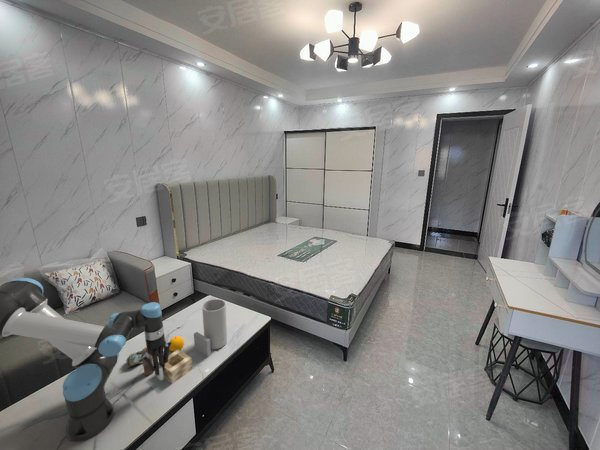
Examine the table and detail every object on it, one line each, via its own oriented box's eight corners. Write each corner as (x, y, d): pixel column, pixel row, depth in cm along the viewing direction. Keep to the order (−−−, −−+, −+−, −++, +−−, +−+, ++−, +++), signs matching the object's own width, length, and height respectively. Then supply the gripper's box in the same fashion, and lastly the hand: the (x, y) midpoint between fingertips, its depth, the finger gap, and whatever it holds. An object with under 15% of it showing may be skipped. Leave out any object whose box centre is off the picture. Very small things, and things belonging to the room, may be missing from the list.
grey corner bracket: (159, 395, 119) (156, 375, 116) (146, 384, 124) (143, 364, 122) (211, 356, 143) (209, 339, 140) (198, 348, 148) (196, 331, 145)
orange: (173, 356, 142) (172, 344, 140) (166, 349, 147) (164, 338, 145) (187, 348, 148) (186, 337, 146) (179, 342, 153) (178, 331, 151)
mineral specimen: (127, 372, 130) (132, 357, 129) (123, 360, 136) (128, 346, 136) (153, 366, 139) (158, 353, 139) (148, 356, 145) (153, 342, 145)
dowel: (147, 378, 127) (144, 354, 124) (143, 375, 129) (139, 351, 126) (155, 373, 131) (152, 349, 127) (151, 369, 133) (148, 346, 129)
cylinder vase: (200, 347, 149) (197, 309, 143) (212, 334, 161) (210, 297, 154) (220, 352, 146) (218, 312, 140) (230, 337, 158) (229, 301, 152)
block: (172, 383, 124) (171, 372, 122) (159, 373, 129) (157, 362, 128) (192, 368, 133) (191, 357, 131) (179, 359, 138) (178, 349, 137)
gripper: (144, 347, 111) (151, 392, 117) (173, 331, 121) (178, 372, 127) (135, 340, 115) (142, 384, 121) (164, 325, 125) (169, 366, 131)
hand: (160, 378), depth 124 cm, fingers closed
